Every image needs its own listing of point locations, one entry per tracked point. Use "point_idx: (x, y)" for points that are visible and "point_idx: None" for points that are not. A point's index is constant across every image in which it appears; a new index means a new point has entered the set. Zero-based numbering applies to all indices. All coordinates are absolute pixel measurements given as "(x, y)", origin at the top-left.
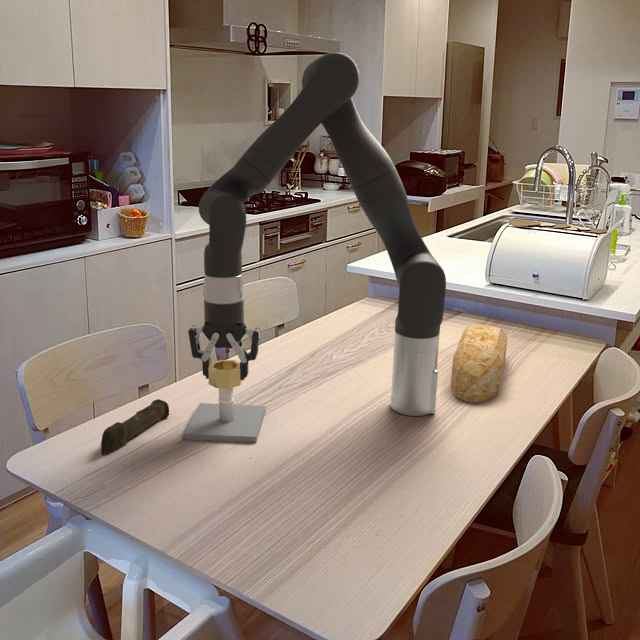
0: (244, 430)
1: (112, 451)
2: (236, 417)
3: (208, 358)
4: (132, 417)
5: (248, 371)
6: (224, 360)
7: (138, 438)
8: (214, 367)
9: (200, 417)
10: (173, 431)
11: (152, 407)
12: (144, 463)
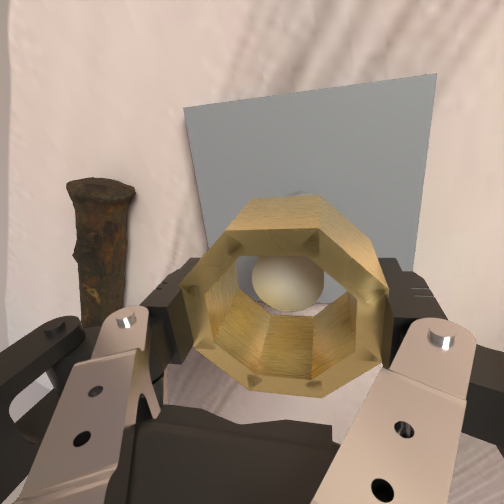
0: None
1: None
2: (331, 196)
3: (164, 361)
4: (84, 293)
5: (425, 283)
6: (246, 243)
7: (132, 292)
8: (213, 292)
9: (224, 211)
10: (184, 258)
11: (92, 238)
12: (191, 372)
